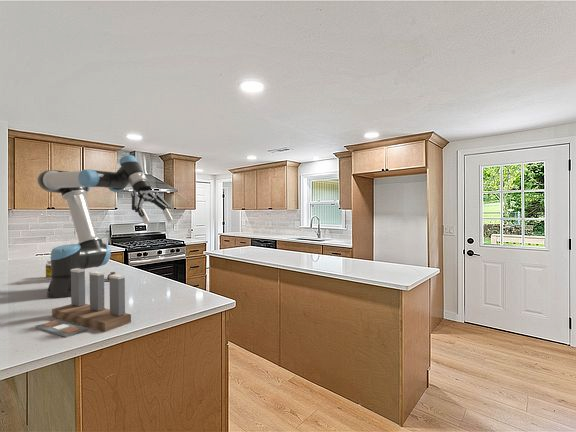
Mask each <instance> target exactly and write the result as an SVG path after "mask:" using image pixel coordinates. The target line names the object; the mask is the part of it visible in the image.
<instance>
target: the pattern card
mask: <svg viewBox="0 0 576 432" xmlns="http://www.w3.org/2000/svg"><path fill="white" fill-rule="evenodd" d="M35 329H37V330H41V331H44V332H47V333H50V334H54V335H57V336H60V337H63V338H68V337H71V336H74V335H76V334H80V333H83V332H86V331H87V330H88V327H85V326H80V325H78V324H74V323H71V322H70V323H69V322H67V321H64V320H60V319H56V320H55V319H54V320H52V321H49V322H45V323H42V324H37V325H35Z"/></svg>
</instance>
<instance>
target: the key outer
mask: <svg viewBox="0 0 576 432" xmlns="http://www.w3.org/2000/svg"><path fill="white" fill-rule="evenodd" d="M108 275H109V274H108ZM109 279H110V282H109V309H110V314H113V315H117V316H120V315H123V314H125V313H126V293H125V292H126V287H125V286H126V283H125V282H126V281H125V280H126V275H123V274H117V273H116V274H114V275H109Z"/></svg>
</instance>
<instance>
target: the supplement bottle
mask: <svg viewBox="0 0 576 432" xmlns="http://www.w3.org/2000/svg"><path fill="white" fill-rule="evenodd" d="M46 261H47V262H46V263H45V278H46V279H51V259H48V260H46Z"/></svg>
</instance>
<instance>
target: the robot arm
mask: <svg viewBox="0 0 576 432" xmlns="http://www.w3.org/2000/svg"><path fill="white" fill-rule="evenodd" d="M119 165H120V167H119V168H118V169H117V170H116V171H105V170H94V169H82V170H76V171H69V170H68V171H67V170H56V169H48V170H44V171H42V172H40V173H39V174H38V177H37V184H38V186H39V187H40V188H41V189H42V190H44V191H46V192H49V193H53V194H54V193H57V194H58V193H59V194H61V196H62V199H64V200H65V201H66V202H67V205H68V208H69V211H70V215H71V219H72V221H73V225H74V228H75V233H76V235H77V240H78V242H77V243H69V244H63V245H58V246H56V247H53V248H52V249H51V252H50V260H51V278H50V279H51V280H50V282H49V286H48V287H47V291H46V296H47V297H49V298H69V297H71V269H75V268H80V269H85V270H86V269H91V268H99V267H101V266H105V265H106V264H108V262H110V258H111V253H112V251H111V247H110V245H109V244H107V243H103V239H102V238H100V237H98V233H97V231H96V228H95V224H94V221H93V217H92V214H91V210H90V207H89V205H88V202H87V199H86V196H87V195H88V192H89V190H90V189H91V188H107V189H109V190H110V191H111V192H114V193H121V192H122V191H123V190H124V189H126V188H127V186H128V185H129V184H130V186H131V188H132V190H133V191H132V192H131V193H130V196H131V210H132V211H134V212H135V213H138V215H139V217H140V218H141V219H142V220H141V221H143V223H144V225H146V224H148V223H149V222H150V218H149V217H148V215H147V212H146V210H145V209H144V207H143V204H144V202H145V203H146V202H149V203H151V204H154V205H155V206H157V207H158V208H159V209H161V210H162V213H163V215H164V217H165V219H166V221H167V223H169V224H170V223H171V222H172V221H174V219H173V217H172V215H171V212H170V210H169V209H170V208H171V205H170V204H169V203H168V202H167V201H166V200H165V199H164V198H163V197H162V195H160V193H159V192H158V191H155V192H153V191H152V186H151V184H150V182H149V181H148V179H147V177H146V175H145V173H144V171H143V170H142V168H141V165H140V163H139V161H138V160H137V158H136V157H135V156H134V155H132V154H126V155H123V156H122V157H120V159H119ZM138 198H139V200H138Z"/></svg>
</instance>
